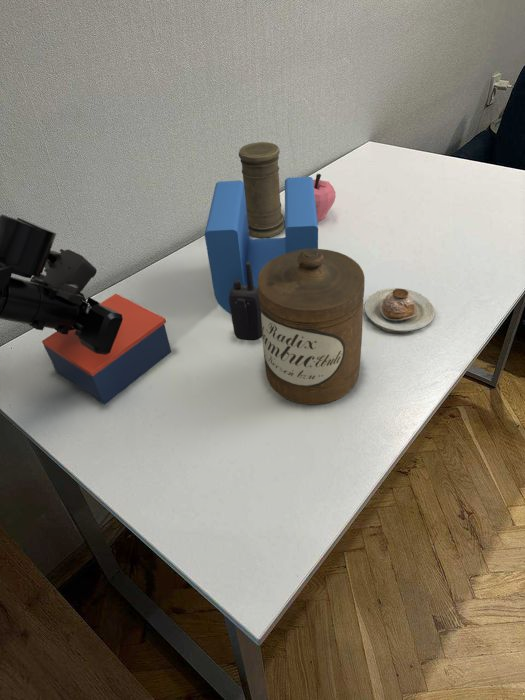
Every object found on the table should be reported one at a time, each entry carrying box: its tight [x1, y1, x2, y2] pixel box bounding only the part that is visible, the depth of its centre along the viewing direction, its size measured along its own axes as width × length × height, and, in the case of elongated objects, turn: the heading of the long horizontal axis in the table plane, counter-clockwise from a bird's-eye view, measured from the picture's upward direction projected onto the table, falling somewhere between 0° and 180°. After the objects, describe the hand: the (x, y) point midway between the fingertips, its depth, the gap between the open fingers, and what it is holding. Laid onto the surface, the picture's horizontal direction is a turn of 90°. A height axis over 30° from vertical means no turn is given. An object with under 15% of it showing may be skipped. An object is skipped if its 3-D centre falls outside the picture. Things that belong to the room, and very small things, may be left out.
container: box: [238, 141, 285, 239], centre depth 109 cm, size 9×9×18 cm
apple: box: [313, 173, 337, 222], centre depth 114 cm, size 10×9×10 cm
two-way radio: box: [229, 262, 263, 342], centre depth 83 cm, size 6×4×15 cm
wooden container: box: [258, 248, 366, 405], centre depth 73 cm, size 15×15×22 cm
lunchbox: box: [43, 324, 172, 406], centre depth 83 cm, size 15×13×6 cm
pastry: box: [364, 287, 435, 334], centre depth 88 cm, size 12×12×5 cm
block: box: [204, 176, 319, 315], centre depth 92 cm, size 18×18×18 cm
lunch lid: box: [41, 293, 167, 376], centre depth 81 cm, size 15×13×1 cm
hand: (112, 321), depth 82 cm, fingers closed
